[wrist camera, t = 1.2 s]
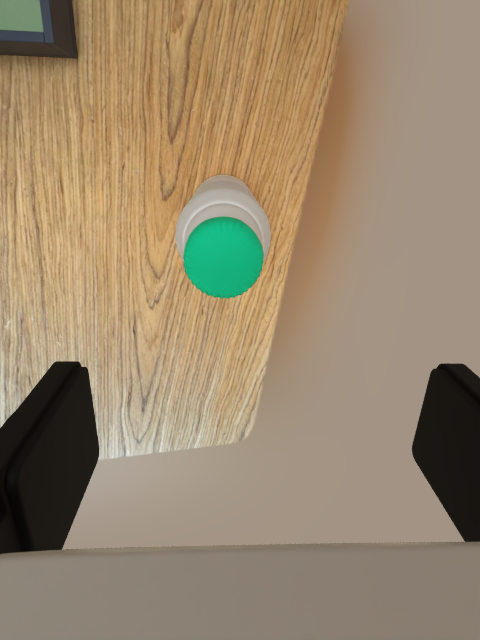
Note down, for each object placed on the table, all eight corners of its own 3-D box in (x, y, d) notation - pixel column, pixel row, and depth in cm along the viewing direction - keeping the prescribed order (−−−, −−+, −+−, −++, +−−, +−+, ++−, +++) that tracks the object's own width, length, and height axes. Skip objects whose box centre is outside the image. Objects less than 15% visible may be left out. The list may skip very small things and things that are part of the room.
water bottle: (183, 222, 46) (143, 294, 23) (206, 163, 44) (188, 176, 21) (238, 246, 47) (253, 337, 24) (264, 190, 45) (307, 231, 22)
